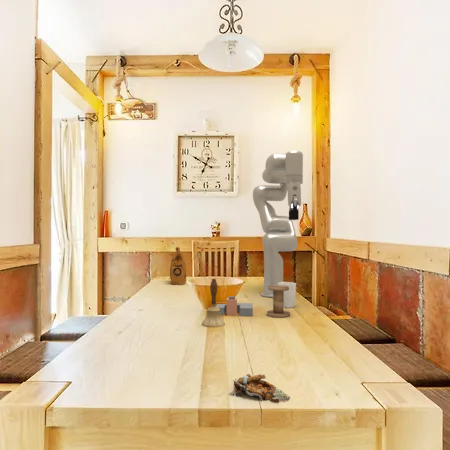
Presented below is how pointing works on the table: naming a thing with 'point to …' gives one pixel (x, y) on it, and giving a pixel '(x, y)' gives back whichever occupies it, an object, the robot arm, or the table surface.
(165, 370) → the table surface
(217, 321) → the hand bell
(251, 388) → the brown irregular lump
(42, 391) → the table surface
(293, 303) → the white cup
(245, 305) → the notch board
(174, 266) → the coffee package
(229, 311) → the copper brown square peg
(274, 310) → the bobbin
